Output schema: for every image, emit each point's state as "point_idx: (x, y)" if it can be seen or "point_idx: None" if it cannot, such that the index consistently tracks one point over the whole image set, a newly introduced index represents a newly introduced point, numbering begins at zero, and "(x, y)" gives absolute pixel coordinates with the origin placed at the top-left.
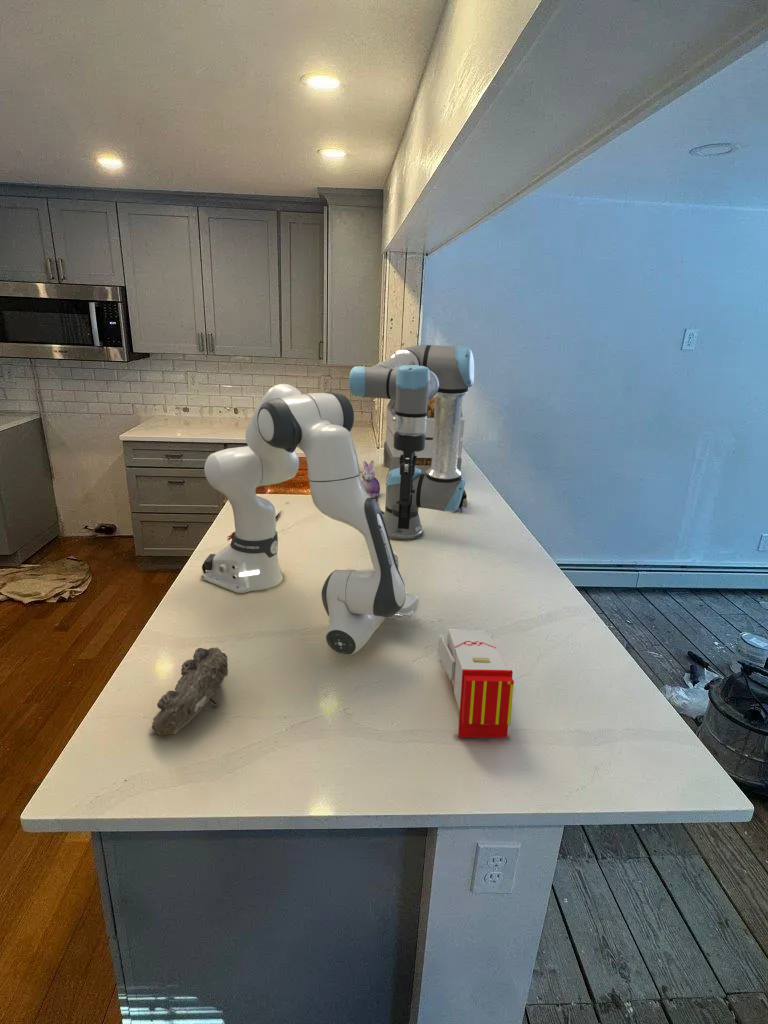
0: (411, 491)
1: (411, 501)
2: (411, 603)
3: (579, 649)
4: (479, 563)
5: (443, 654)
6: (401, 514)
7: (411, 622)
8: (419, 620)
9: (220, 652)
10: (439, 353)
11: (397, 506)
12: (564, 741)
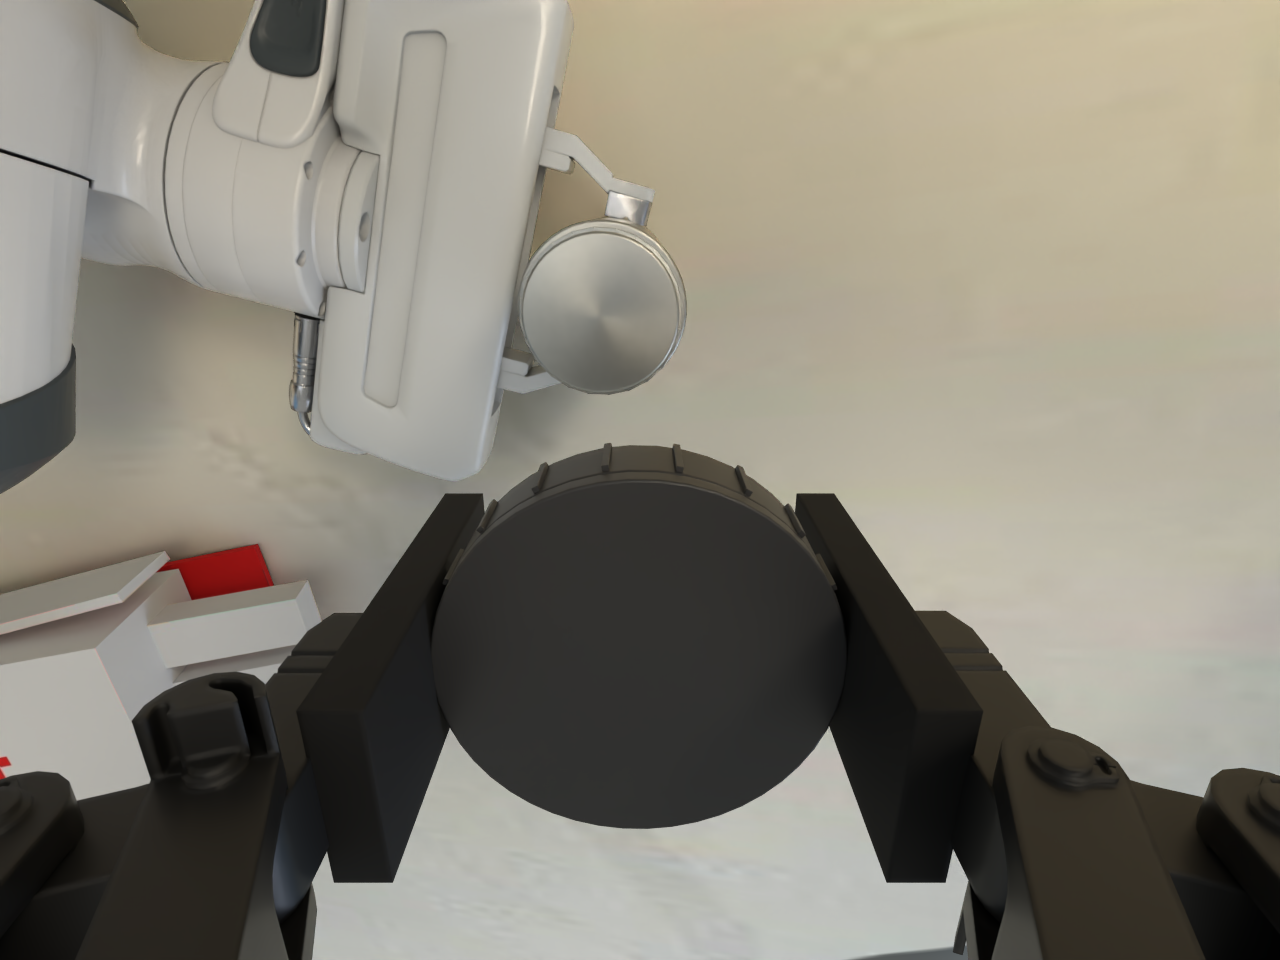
0: (964, 927)
1: (852, 776)
2: (376, 454)
3: (478, 925)
4: (1138, 694)
5: (57, 593)
6: (304, 644)
7: (512, 410)
8: (538, 444)
9: None
10: None
11: (682, 558)
12: None
